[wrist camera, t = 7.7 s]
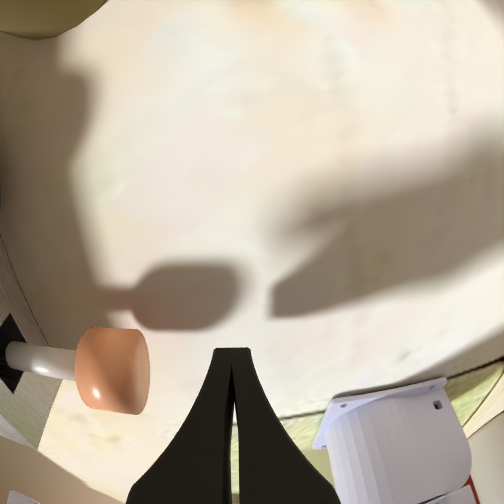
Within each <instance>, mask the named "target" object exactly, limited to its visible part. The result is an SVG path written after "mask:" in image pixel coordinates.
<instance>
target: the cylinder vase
mask: <svg viewBox="0 0 504 504" xmlns="http://www.w3.org/2000/svg"><path fill="white" fill-rule="evenodd" d="M468 443H469V446H470V449H471V455H472V467H471V472H470V475H471V477H472V480H473V483H474V486H475V489H476V492H477V495H478V498H479V501H480V504H504V412H502V413H501V414H499V415H498V416H496V417H495V418H494V419H492V420H491V421H489V422H488V423H487V424H485V425H484V426H483V427H481V428H480V429H479V430H478V431H476V432H475V433H474V434H473V435H472V436H471V437H470V438H469V439H468Z"/></svg>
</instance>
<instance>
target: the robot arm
mask: <svg viewBox="0 0 504 504" xmlns="http://www.w3.org/2000/svg"><path fill="white" fill-rule="evenodd" d="M446 384H447V379H446V377H441V378H437V379H433V380H430V381H426V382H421V383H417V384H413V385H408V386H404V387H399V388H394V389H389V390H384V391H379V392H373V393H368V394H362V395H355V396H349V397H342V398H335V399H333V400H331V401H330V402H329V403H328V406H327V408H326V411H325V414H324V416H323V419H322V421H321V424H320V427H319V429H318V432H317V434H316V436H315V439H314V441H313V444H312V447H313V449H324V448H328V453H329V458H330V463H331V469H332V473H333V478H334V485H335V489H334V488H333V486H332V485H331V484H330V483H329V482H328V481H327V480H326V479H325V478H324V477H323V476H322V475H321V474H320V473H319V472H318V471H317V470H316V469H315V468H314V467H313V465H312V464H311V463H310V462H309V461H308V460H307V459H306V457H305V456H304V455H303V454H302V452H301V451H300V450H299V448H298V447H297V446H296V445H295V443H294V442H293V441H292V439H291V438H290V436H289V435H288V434H287V432H286V431H285V429H284V428H283V426H282V424H281V423H280V421H279V420H278V418H277V416H276V414H275V413H274V411H273V409H272V407H271V405H270V403H269V401H268V399H267V397H266V395H265V393H264V391H263V388H262V386H261V384H260V381H259V379H258V376H257V373H256V371H255V368H254V364H253V361H252V356H251V350H250V349H249V348H248V347H246V348H216V349H214V352H213V356H212V360H211V364H210V367H209V370H208V373H207V375H206V378H205V380H204V383H203V385H202V387H201V390H200V392H199V394H198V396H197V398H196V400H195V402H194V404H193V406H192V408H191V410H190V412H189V414H188V416H187V418H186V419H185V421H184V423H183V424H182V426H181V428H180V429H179V431H178V432H177V434H176V435H175V437H174V438H173V440H172V441H171V442H170V444H169V445H168V447H167V448H166V449H165V450H164V452H163V453H162V454H161V455H160V457H159V458H158V459H157V460H156V461H155V463H154V464H153V465H152V466H151V467H150V468H149V469H148V471H147V472H146V473H145V474H144V475H143V476H142V477H141V478H140V479H139V480H138V481H137V482H136V483H135V484H134V485H133V486H132V487H131V490H130V492H129V494H128V497H127V501H126V504H232V494H231V462H230V451H231V436H232V424H233V412H234V401H235V410H236V418H237V426H238V441H239V498H240V504H476V501H475V498H474V495H473V492H472V489H471V486H470V485H467V486H465V487H463V488H461V487H462V486H463V485H464V484H465V483H466V481H467V480H468V478H469V475H470V472H471V467H472V455H471V449H470V446H469V443H468V440H467V438H466V436H465V433H464V431H463V429H462V426H461V424H460V422H459V420H458V417H457V415H456V413H455V411H454V409H453V406H452V404H451V402H450V400H449V398H448V396H447V394H446V392H445V390H444V386H445V385H446ZM460 488H461V489H460ZM335 490H336V491H335ZM7 504H40V503H38V502H36V501H35V500H33V499H31V498H29V497H26V496H24V495H22V494H20V493H18V492H15V491H14V490H10V493H9V497H8V501H7Z"/></svg>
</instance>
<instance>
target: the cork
mask: <svg viewBox="0 0 504 504" xmlns="http://www.w3.org/2000/svg"><path fill="white" fill-rule="evenodd" d="M105 1H106V0H0V31H1V32H5V33H8V34H12V35H15V36H19V37H22V38H28V39H33V40H40V39H45V38H50V37H56V36H58V35H60V34H62V33H64V32H66V31H68V30H70V29H72V28H74V27H76V26H77V25H79V24H80V23H81V22H82V21H84V20H85V19H86V18H88V17H89V16H90V15H92V14H93V13H94V12H96V11H97V10H98V9H99V8H100V7H101V5H102V4H103V3H104V2H105Z"/></svg>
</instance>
